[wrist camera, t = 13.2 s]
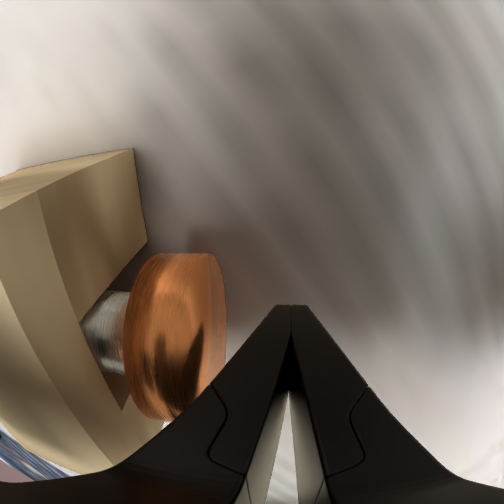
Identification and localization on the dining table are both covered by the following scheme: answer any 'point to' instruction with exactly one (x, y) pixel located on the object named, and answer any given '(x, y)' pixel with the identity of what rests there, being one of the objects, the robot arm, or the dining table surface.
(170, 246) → the dining table surface
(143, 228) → the mount
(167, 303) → the pin
